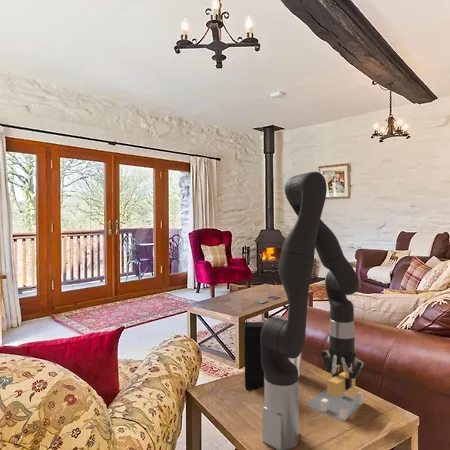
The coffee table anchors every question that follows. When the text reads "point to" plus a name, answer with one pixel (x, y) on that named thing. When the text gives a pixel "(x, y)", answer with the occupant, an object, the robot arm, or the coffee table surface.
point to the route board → (336, 404)
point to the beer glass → (296, 362)
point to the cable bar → (338, 385)
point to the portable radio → (253, 355)
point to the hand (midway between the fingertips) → (342, 386)
